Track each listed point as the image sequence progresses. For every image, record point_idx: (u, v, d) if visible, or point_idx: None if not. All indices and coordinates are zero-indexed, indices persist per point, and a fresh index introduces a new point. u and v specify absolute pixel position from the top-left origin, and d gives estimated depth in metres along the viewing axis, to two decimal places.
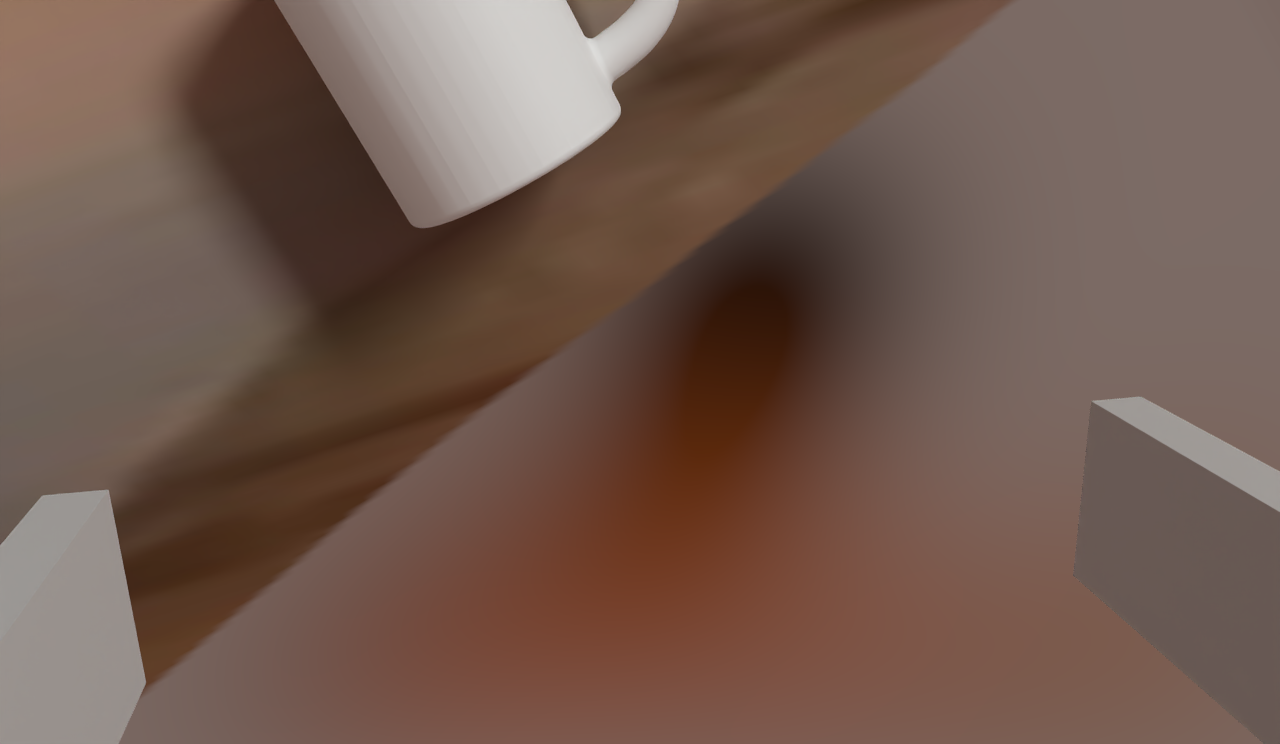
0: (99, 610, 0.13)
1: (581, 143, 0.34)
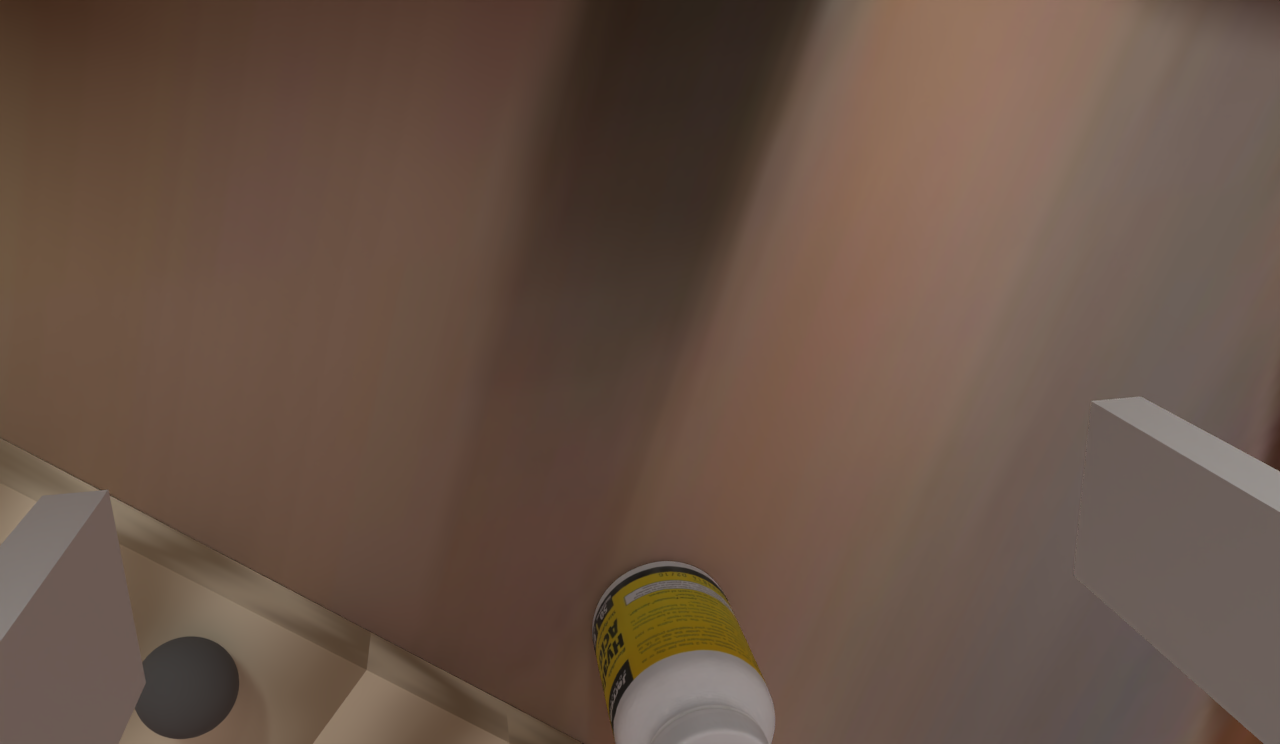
0: (99, 610, 0.13)
1: None
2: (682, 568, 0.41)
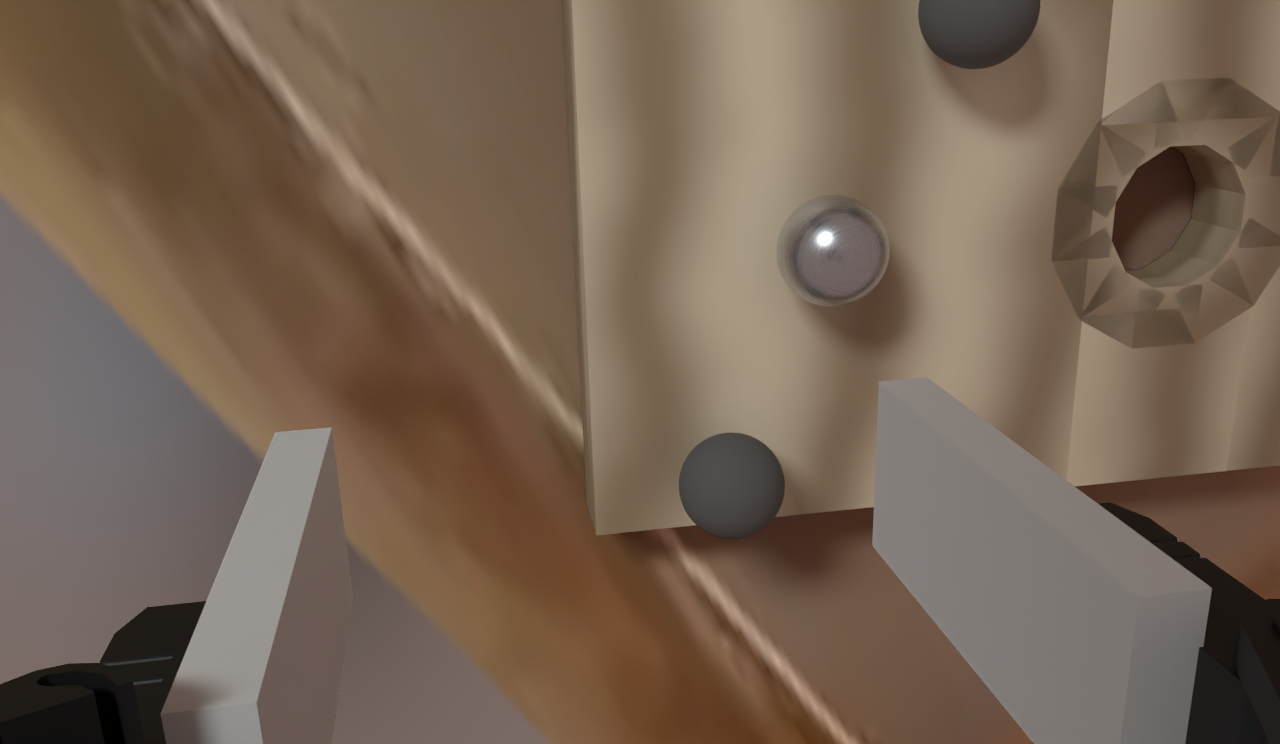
0: (333, 530, 0.15)
1: None
2: None
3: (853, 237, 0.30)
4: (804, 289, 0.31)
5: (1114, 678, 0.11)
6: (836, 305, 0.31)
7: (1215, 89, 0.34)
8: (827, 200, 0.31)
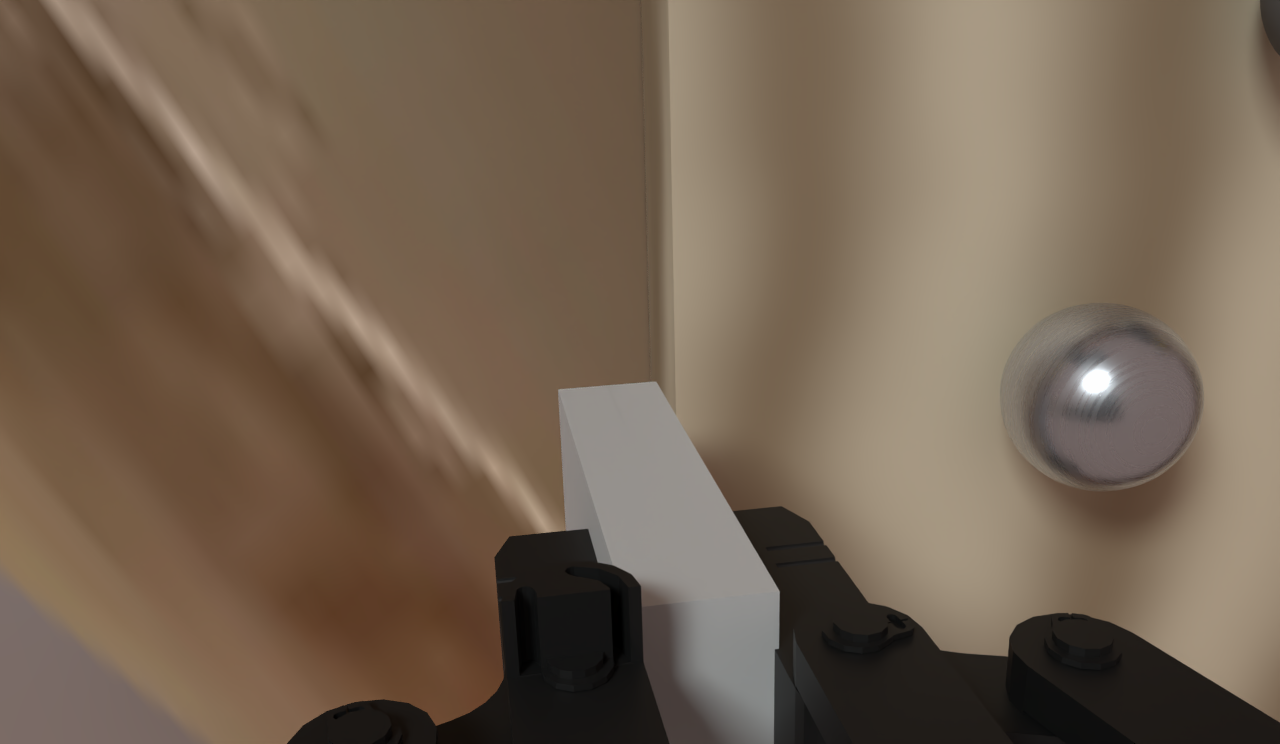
0: None
1: None
2: None
3: (1159, 386, 0.17)
4: (1059, 467, 0.18)
5: None
6: (1108, 490, 0.19)
7: None
8: (1102, 316, 0.18)
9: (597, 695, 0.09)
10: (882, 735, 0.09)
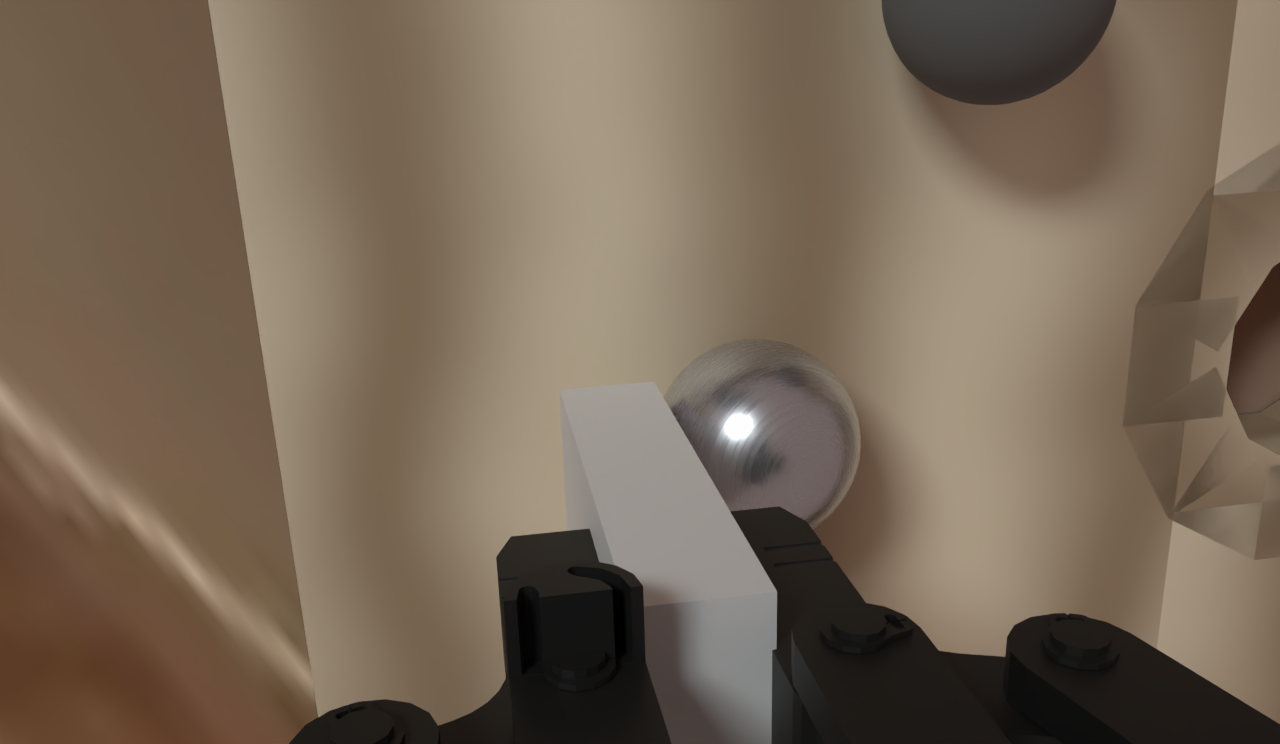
0: None
1: None
2: None
3: (812, 431, 0.16)
4: None
5: None
6: None
7: None
8: (750, 357, 0.16)
9: (599, 695, 0.09)
10: (880, 736, 0.09)
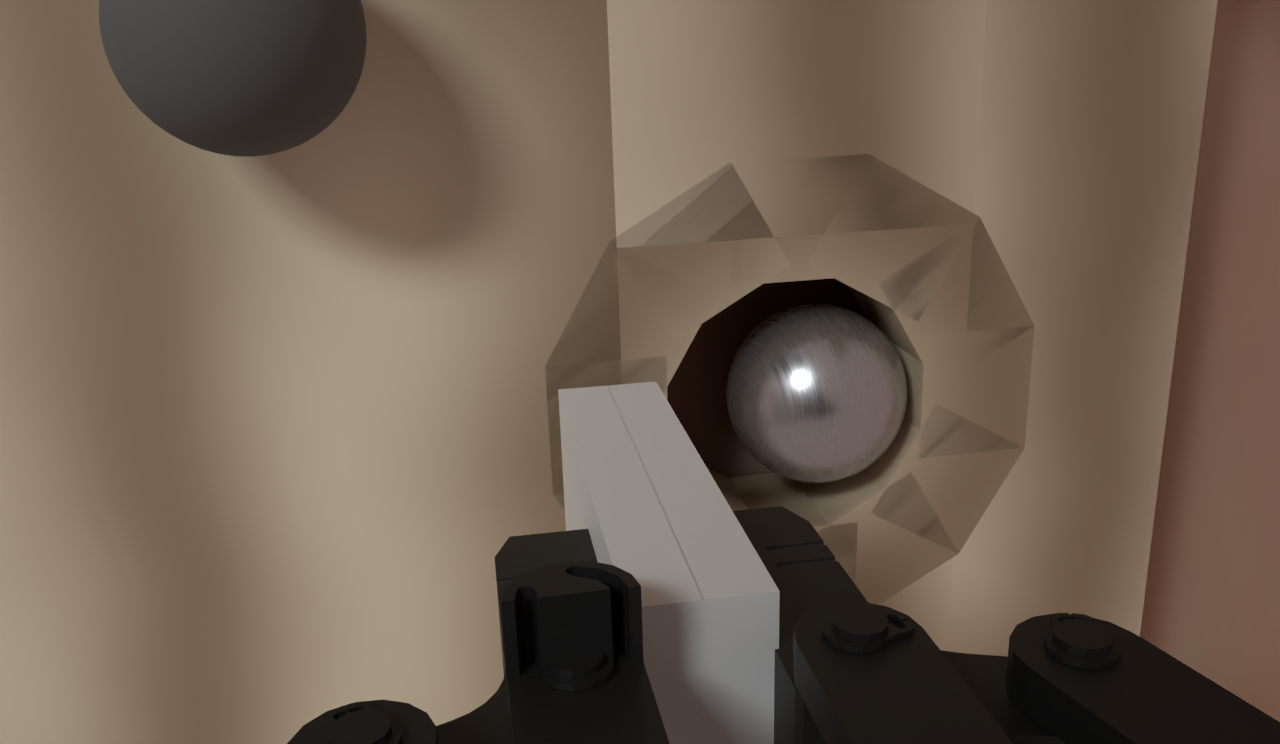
0: None
1: None
2: None
3: None
4: (884, 452, 0.20)
5: None
6: None
7: (842, 175, 0.18)
8: (845, 315, 0.19)
9: (597, 695, 0.09)
10: (882, 735, 0.09)
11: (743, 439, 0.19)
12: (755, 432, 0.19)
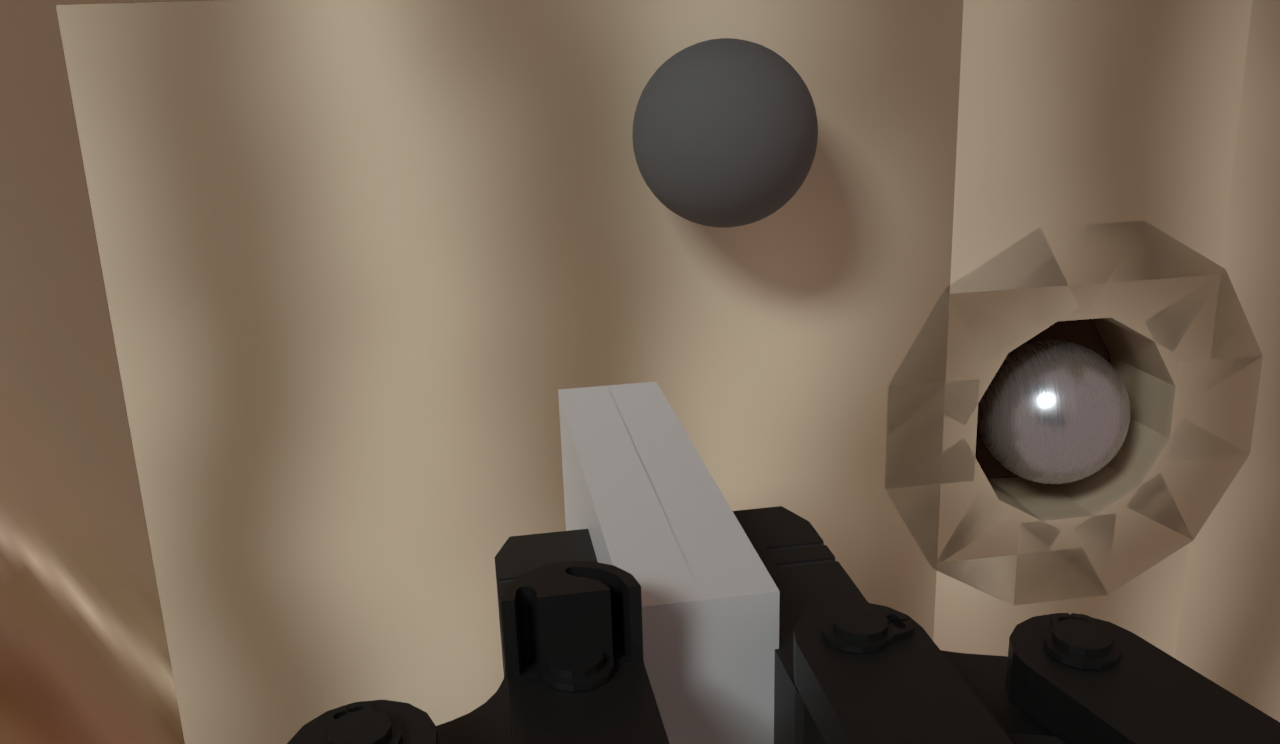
0: None
1: None
2: None
3: None
4: (1101, 467, 0.24)
5: None
6: None
7: (1123, 237, 0.23)
8: (1077, 351, 0.24)
9: (597, 695, 0.09)
10: (882, 735, 0.09)
11: (982, 439, 0.25)
12: (988, 433, 0.24)
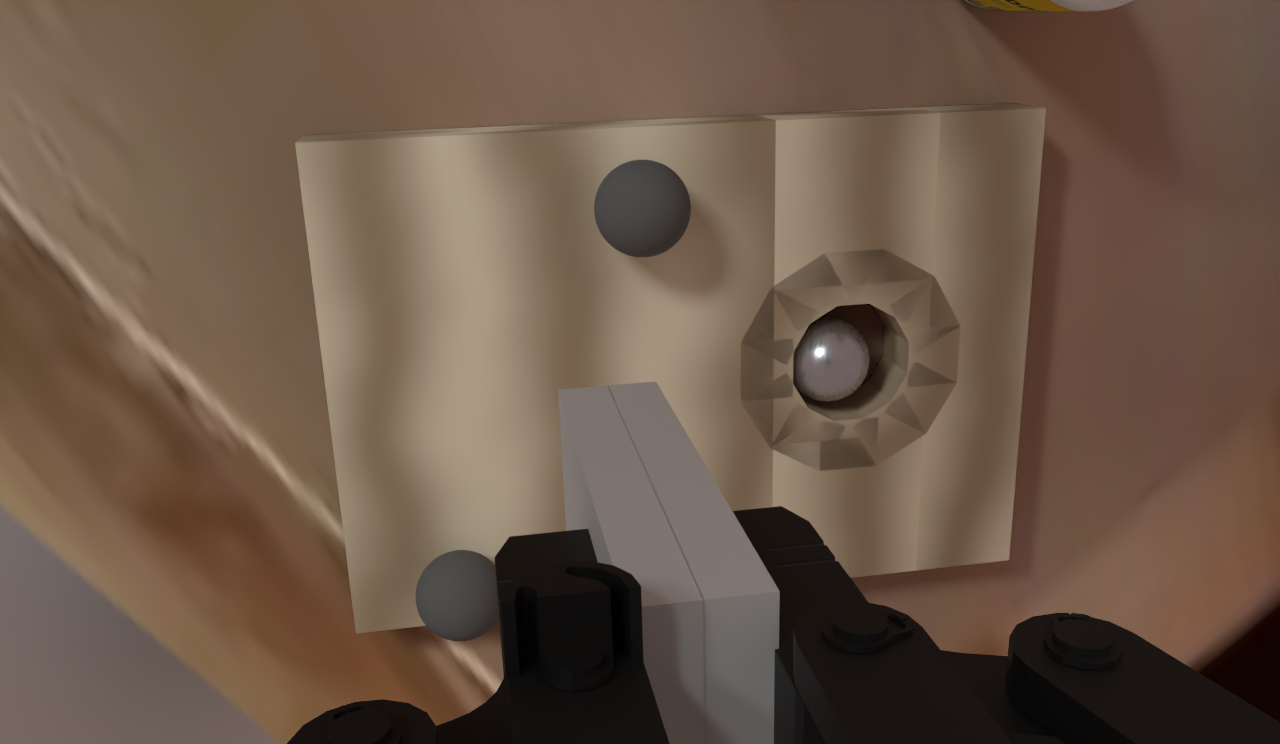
0: None
1: None
2: None
3: (865, 345, 0.41)
4: (841, 392, 0.41)
5: None
6: None
7: (873, 258, 0.40)
8: (833, 324, 0.41)
9: (597, 695, 0.09)
10: (882, 735, 0.09)
11: None
12: None
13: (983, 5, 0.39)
